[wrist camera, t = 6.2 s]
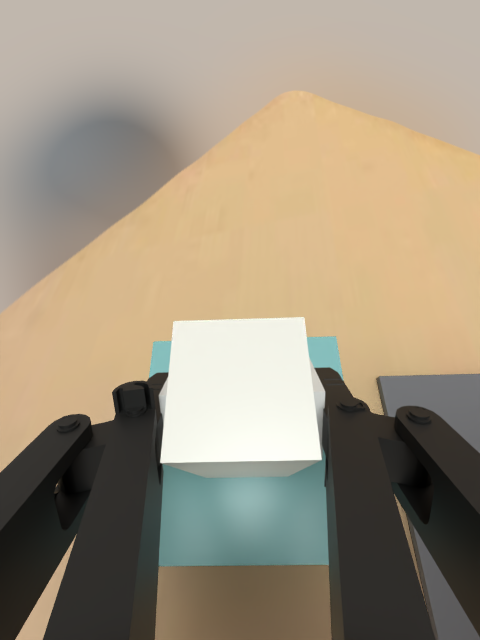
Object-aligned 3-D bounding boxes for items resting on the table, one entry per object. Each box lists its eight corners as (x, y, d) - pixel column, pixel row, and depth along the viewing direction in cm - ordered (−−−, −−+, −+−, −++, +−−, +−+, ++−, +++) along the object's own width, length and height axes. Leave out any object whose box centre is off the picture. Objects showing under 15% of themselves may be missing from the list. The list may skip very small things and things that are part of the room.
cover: (318, 370, 25) (392, 227, 11) (341, 544, 19) (529, 655, 6) (174, 373, 25) (85, 238, 12) (160, 546, 20) (-32, 656, 6)
